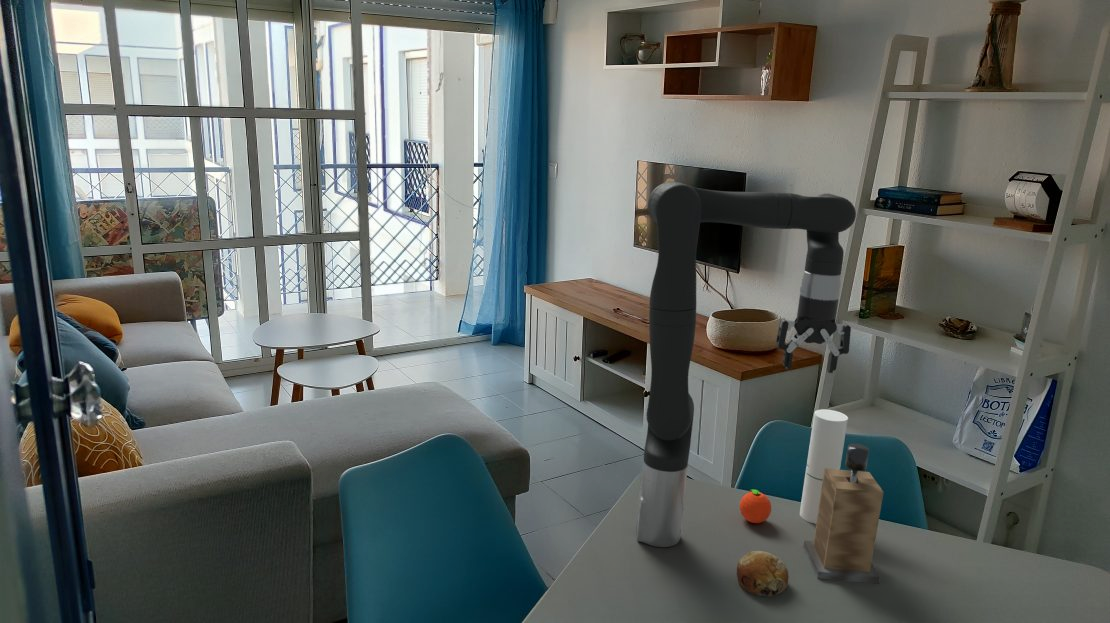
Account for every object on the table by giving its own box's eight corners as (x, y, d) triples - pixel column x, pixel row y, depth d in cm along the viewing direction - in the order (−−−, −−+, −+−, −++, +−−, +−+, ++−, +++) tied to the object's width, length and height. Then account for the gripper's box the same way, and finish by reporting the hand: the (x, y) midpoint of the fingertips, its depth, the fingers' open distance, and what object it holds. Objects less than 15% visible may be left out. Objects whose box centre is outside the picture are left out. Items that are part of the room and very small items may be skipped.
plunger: (828, 563, 161) (845, 453, 155) (819, 545, 168) (835, 439, 162) (863, 566, 161) (882, 456, 155) (853, 547, 167) (870, 442, 162)
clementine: (732, 511, 184) (735, 483, 183) (761, 511, 185) (764, 483, 184) (744, 529, 177) (747, 499, 175) (774, 528, 178) (778, 499, 176)
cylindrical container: (827, 510, 187) (843, 410, 181) (835, 526, 180) (851, 422, 174) (796, 507, 188) (811, 408, 182) (802, 522, 181) (818, 419, 175)
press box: (817, 578, 159) (830, 491, 155) (803, 546, 171) (815, 464, 166) (878, 583, 159) (894, 496, 154) (860, 551, 170) (874, 469, 166)
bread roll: (785, 597, 159) (791, 556, 160) (785, 603, 149) (791, 559, 151) (735, 585, 162) (741, 544, 163) (731, 590, 152) (738, 547, 154)
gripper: (787, 295, 158) (777, 373, 162) (860, 301, 157) (848, 378, 161) (780, 287, 165) (770, 362, 169) (849, 292, 165) (838, 367, 169)
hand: (808, 370), depth 165 cm, fingers open, 8 cm apart
